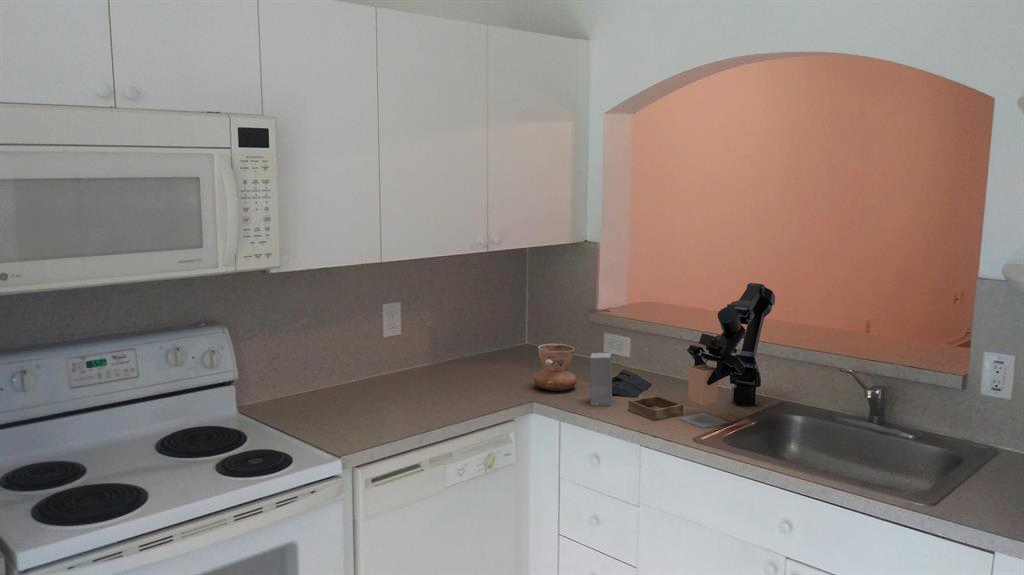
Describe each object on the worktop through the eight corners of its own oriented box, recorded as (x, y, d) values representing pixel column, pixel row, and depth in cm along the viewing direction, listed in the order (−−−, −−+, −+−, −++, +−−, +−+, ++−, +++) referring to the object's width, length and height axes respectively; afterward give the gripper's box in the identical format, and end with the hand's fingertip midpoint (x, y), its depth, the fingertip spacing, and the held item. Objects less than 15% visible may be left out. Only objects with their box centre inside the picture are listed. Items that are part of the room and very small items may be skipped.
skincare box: (610, 407, 249) (612, 358, 247) (587, 406, 250) (589, 356, 248) (612, 400, 257) (614, 352, 255) (590, 398, 259) (591, 350, 256)
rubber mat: (702, 415, 243) (702, 412, 242) (727, 424, 234) (727, 421, 234) (678, 420, 237) (678, 417, 237) (703, 429, 229) (703, 427, 229)
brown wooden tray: (656, 406, 251) (656, 395, 251) (682, 416, 242) (683, 404, 241) (628, 411, 245) (628, 400, 244) (654, 422, 235) (654, 410, 235)
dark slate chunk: (593, 396, 263) (594, 382, 262) (610, 380, 283) (610, 367, 283) (639, 401, 257) (640, 387, 257) (653, 385, 278) (654, 371, 277)
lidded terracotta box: (702, 397, 239) (703, 363, 238) (717, 402, 234) (718, 368, 233) (687, 400, 236) (689, 366, 235) (702, 405, 231) (703, 371, 230)
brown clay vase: (567, 397, 260) (569, 354, 258) (525, 391, 265) (527, 349, 263) (583, 384, 277) (585, 344, 275) (544, 379, 282) (545, 339, 280)
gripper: (692, 318, 242) (664, 358, 238) (740, 329, 226) (710, 372, 222) (710, 341, 247) (682, 380, 243) (757, 353, 231) (728, 395, 227)
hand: (699, 381), depth 234 cm, fingers closed on lidded terracotta box, 6 cm apart
